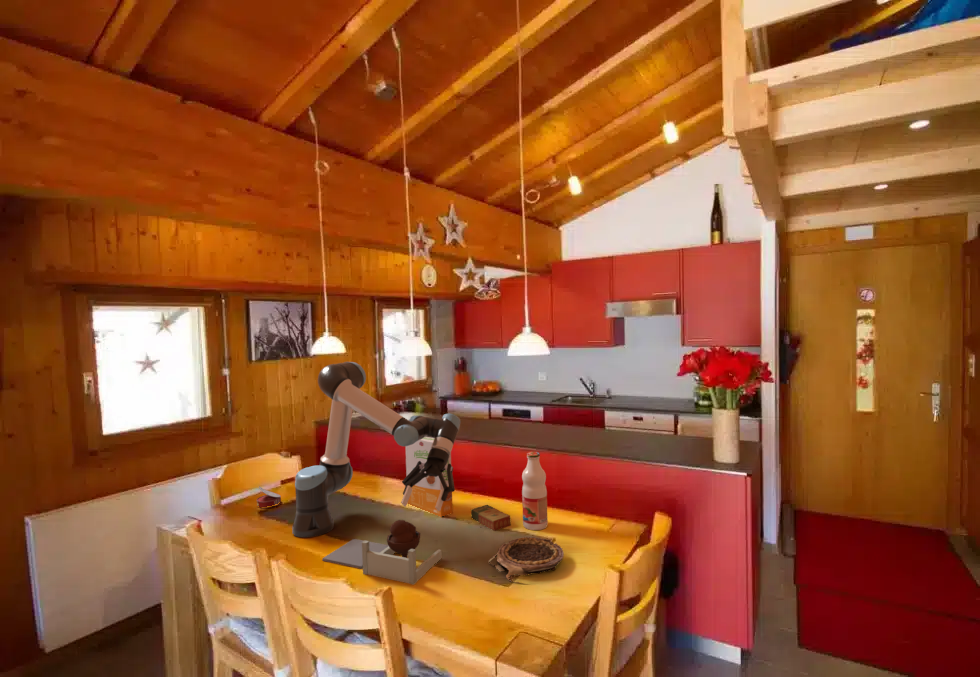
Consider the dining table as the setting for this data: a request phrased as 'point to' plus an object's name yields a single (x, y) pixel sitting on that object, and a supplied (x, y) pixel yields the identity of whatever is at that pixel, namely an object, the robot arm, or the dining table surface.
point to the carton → (491, 517)
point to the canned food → (268, 498)
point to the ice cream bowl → (403, 537)
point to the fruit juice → (534, 494)
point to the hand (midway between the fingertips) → (420, 507)
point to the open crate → (396, 564)
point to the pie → (528, 556)
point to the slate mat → (352, 553)
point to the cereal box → (426, 480)
